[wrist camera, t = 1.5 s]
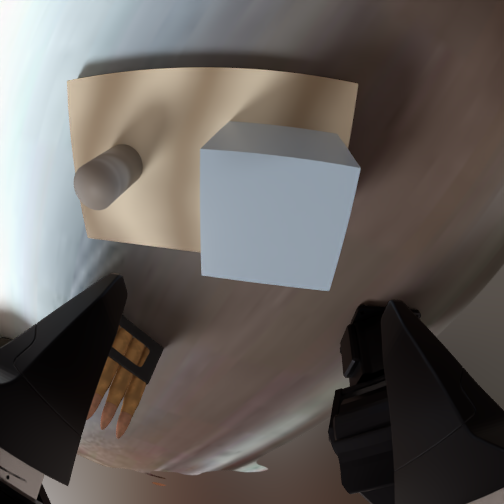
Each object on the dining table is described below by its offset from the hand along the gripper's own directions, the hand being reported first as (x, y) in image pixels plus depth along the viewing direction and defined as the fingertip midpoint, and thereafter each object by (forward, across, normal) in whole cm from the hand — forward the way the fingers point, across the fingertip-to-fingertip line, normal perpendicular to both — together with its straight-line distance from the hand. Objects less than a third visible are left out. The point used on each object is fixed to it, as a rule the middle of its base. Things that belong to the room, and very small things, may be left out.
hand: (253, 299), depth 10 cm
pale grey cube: (+11, -1, 0) cm, 11 cm away
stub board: (+12, +5, 0) cm, 13 cm away
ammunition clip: (+12, +14, +18) cm, 26 cm away
